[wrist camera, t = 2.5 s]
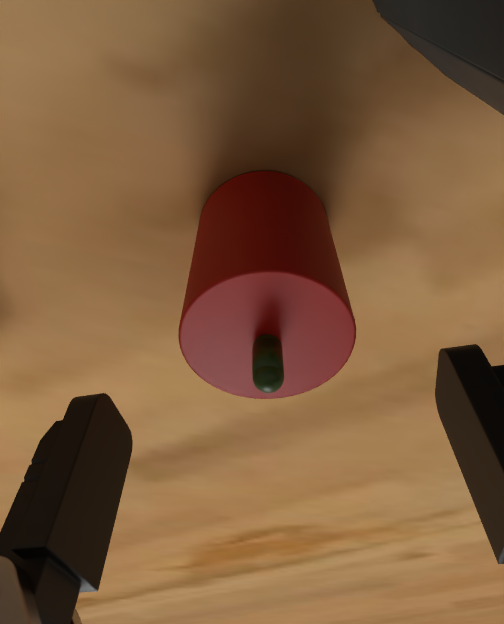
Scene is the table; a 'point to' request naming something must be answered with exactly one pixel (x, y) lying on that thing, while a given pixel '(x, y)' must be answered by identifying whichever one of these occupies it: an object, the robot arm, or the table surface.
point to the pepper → (265, 291)
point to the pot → (456, 40)
